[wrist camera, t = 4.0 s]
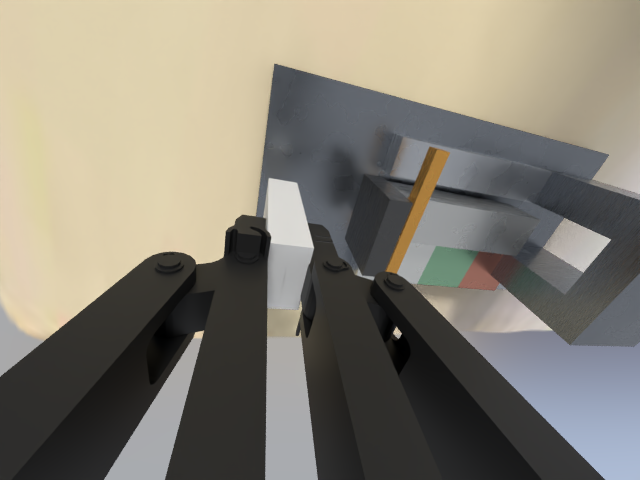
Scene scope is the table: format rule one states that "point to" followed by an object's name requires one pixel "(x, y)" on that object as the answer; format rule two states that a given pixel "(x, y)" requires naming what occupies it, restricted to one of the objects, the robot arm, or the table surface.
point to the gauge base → (466, 179)
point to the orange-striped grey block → (428, 220)
